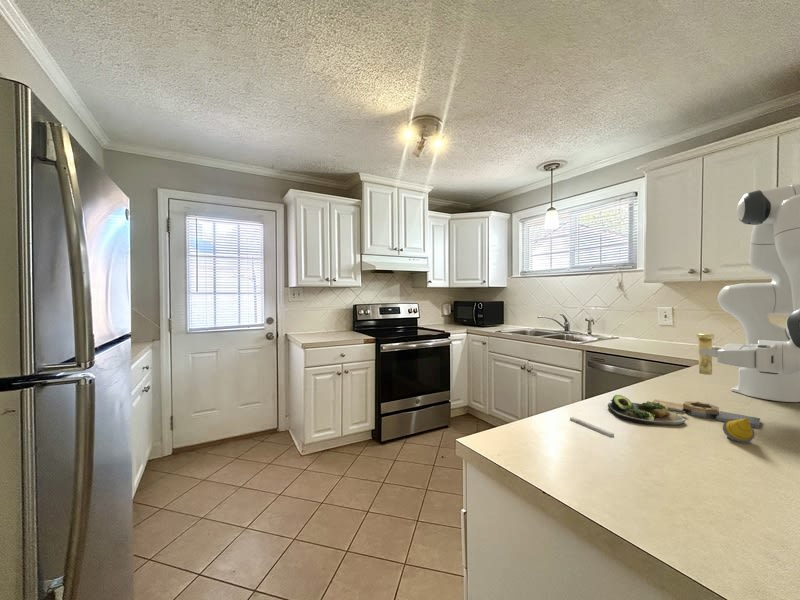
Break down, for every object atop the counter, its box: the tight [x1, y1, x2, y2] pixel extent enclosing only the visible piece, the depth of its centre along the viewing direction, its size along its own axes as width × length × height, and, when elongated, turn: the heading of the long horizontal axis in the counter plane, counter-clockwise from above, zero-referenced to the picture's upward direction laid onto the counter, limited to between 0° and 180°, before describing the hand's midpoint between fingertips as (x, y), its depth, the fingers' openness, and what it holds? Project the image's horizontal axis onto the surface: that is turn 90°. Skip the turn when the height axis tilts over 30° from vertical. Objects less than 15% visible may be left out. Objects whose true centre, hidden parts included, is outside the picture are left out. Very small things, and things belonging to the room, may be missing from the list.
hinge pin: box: [695, 333, 715, 376], centre depth 104 cm, size 4×4×12 cm
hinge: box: [651, 398, 761, 429], centre depth 98 cm, size 7×23×2 cm, turn 40°
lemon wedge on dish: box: [722, 418, 756, 444], centre depth 79 cm, size 5×5×10 cm
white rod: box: [569, 416, 615, 438], centre depth 89 cm, size 12×1×1 cm, turn 19°
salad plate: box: [607, 394, 687, 426], centre depth 98 cm, size 19×18×5 cm
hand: (701, 350), depth 104 cm, fingers closed on hinge pin, 3 cm apart
